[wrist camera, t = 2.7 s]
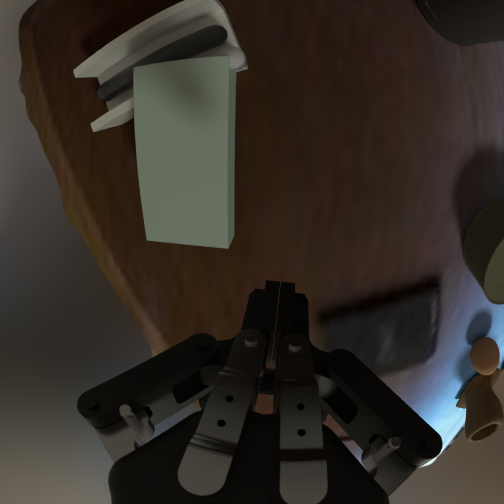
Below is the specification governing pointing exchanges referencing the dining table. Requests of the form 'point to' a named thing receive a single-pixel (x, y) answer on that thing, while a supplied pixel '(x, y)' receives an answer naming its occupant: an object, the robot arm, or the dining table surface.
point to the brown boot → (481, 407)
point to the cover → (187, 147)
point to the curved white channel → (155, 52)
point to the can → (487, 250)
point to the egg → (485, 355)
